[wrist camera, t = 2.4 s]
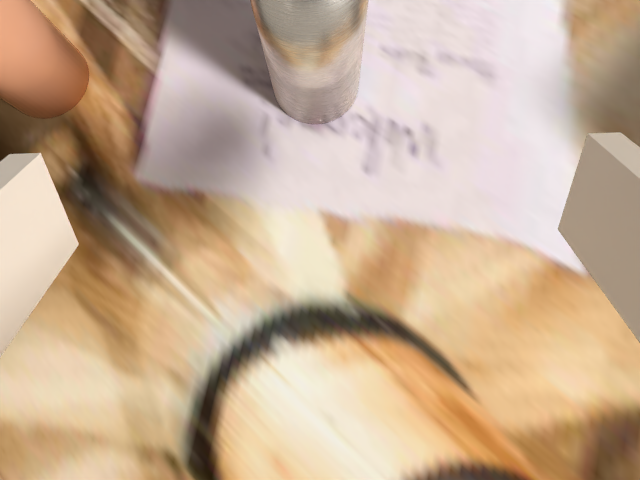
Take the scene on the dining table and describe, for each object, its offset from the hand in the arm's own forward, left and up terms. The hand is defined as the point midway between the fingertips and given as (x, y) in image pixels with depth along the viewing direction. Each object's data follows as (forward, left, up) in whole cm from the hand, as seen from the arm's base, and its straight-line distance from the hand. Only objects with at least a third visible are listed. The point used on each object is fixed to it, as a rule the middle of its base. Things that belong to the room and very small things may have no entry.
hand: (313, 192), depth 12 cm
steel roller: (0, +10, -14) cm, 18 cm away
